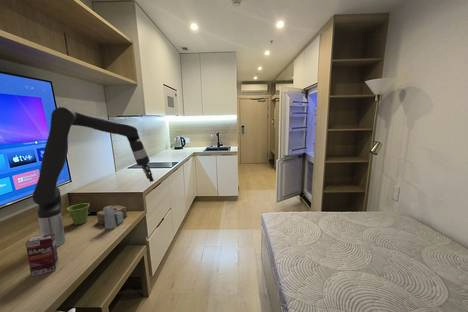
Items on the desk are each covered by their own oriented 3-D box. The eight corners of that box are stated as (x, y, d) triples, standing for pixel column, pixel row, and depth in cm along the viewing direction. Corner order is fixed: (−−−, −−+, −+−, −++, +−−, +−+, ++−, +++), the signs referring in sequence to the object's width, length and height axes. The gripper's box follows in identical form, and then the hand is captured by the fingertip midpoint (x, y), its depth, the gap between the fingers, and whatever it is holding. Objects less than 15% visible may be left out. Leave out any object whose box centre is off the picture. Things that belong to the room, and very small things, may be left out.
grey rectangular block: (118, 224, 132) (117, 214, 131) (114, 223, 134) (113, 213, 133) (123, 221, 136) (122, 212, 135) (119, 220, 138) (118, 211, 136)
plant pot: (94, 217, 142) (93, 202, 140) (85, 226, 130) (82, 209, 129) (76, 218, 140) (74, 203, 139) (64, 227, 129) (62, 210, 127)
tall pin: (109, 230, 125) (107, 208, 123) (105, 228, 127) (103, 207, 125) (115, 227, 129) (113, 206, 127) (111, 226, 130) (109, 205, 128)
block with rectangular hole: (107, 225, 131) (106, 215, 130) (98, 222, 135) (96, 212, 134) (126, 216, 144) (126, 207, 143) (117, 214, 148) (116, 205, 147)
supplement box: (30, 277, 87) (24, 243, 84) (35, 270, 91) (29, 237, 88) (56, 270, 91) (51, 237, 88) (59, 264, 95) (54, 232, 92)
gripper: (133, 157, 130) (142, 180, 135) (136, 160, 118) (146, 184, 123) (145, 153, 134) (153, 175, 138) (149, 155, 122) (158, 179, 127)
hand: (150, 179), depth 131 cm, fingers open, 8 cm apart
